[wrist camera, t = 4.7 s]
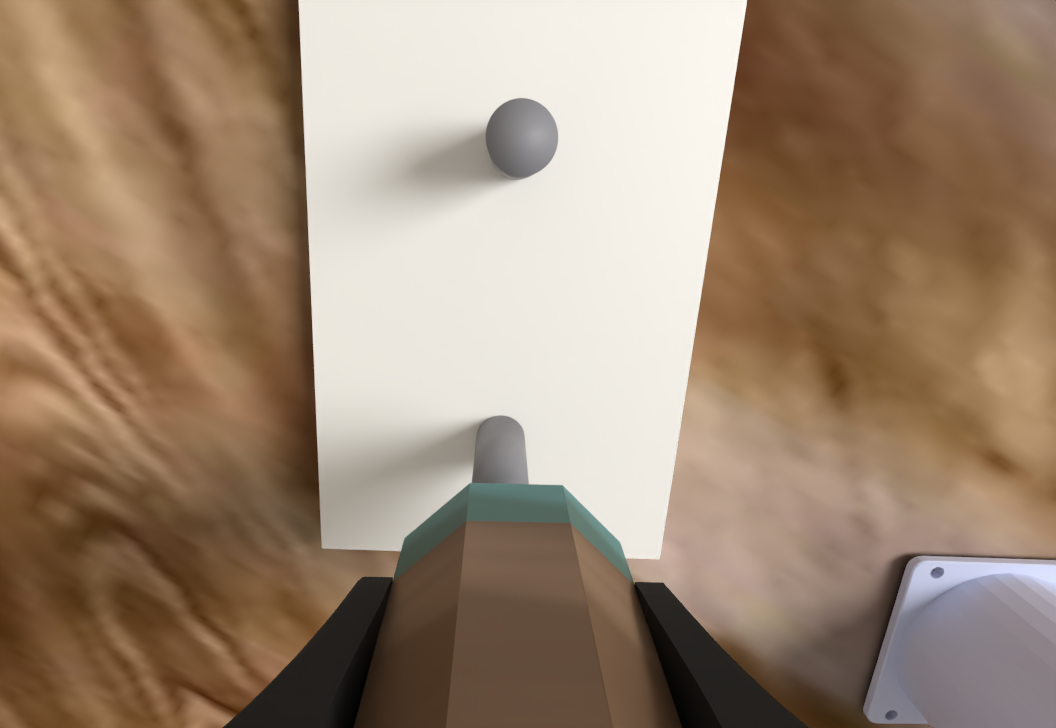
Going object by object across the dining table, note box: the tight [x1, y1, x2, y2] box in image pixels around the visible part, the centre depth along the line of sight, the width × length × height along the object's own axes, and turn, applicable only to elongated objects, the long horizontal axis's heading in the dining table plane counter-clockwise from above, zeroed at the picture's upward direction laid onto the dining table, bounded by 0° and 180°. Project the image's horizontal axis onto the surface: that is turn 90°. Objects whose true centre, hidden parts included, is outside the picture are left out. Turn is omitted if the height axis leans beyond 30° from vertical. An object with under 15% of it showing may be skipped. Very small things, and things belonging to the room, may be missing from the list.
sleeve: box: [354, 483, 682, 728], centre depth 11 cm, size 5×5×6 cm
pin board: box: [299, 0, 747, 559], centre depth 16 cm, size 12×18×5 cm, turn 176°
